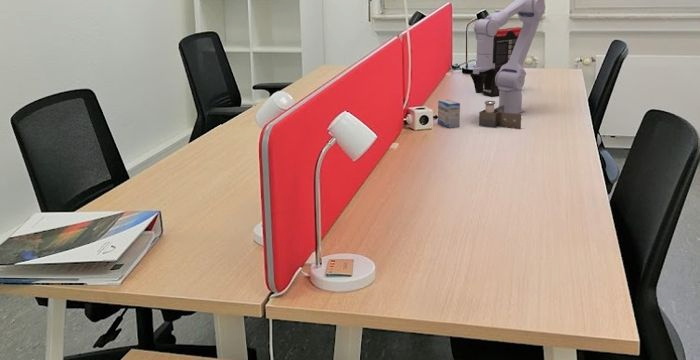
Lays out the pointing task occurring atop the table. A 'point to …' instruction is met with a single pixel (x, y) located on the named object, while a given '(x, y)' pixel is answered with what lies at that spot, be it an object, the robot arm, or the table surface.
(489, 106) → the grey metal cylinder
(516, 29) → the graphics card box
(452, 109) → the medicine box
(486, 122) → the dark brown block
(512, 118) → the brown open box
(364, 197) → the table surface
